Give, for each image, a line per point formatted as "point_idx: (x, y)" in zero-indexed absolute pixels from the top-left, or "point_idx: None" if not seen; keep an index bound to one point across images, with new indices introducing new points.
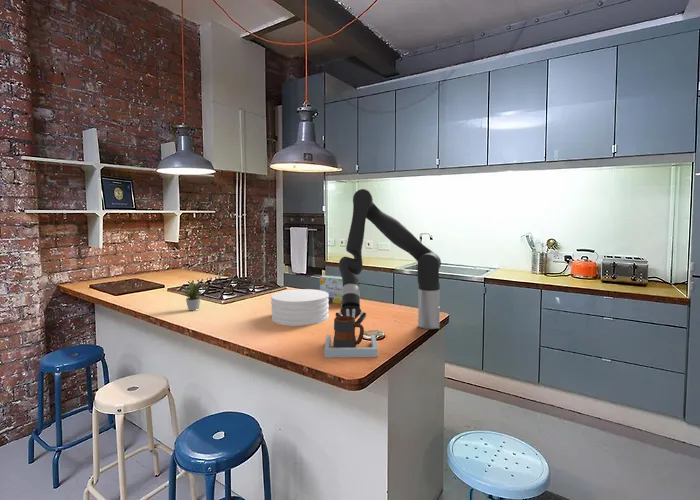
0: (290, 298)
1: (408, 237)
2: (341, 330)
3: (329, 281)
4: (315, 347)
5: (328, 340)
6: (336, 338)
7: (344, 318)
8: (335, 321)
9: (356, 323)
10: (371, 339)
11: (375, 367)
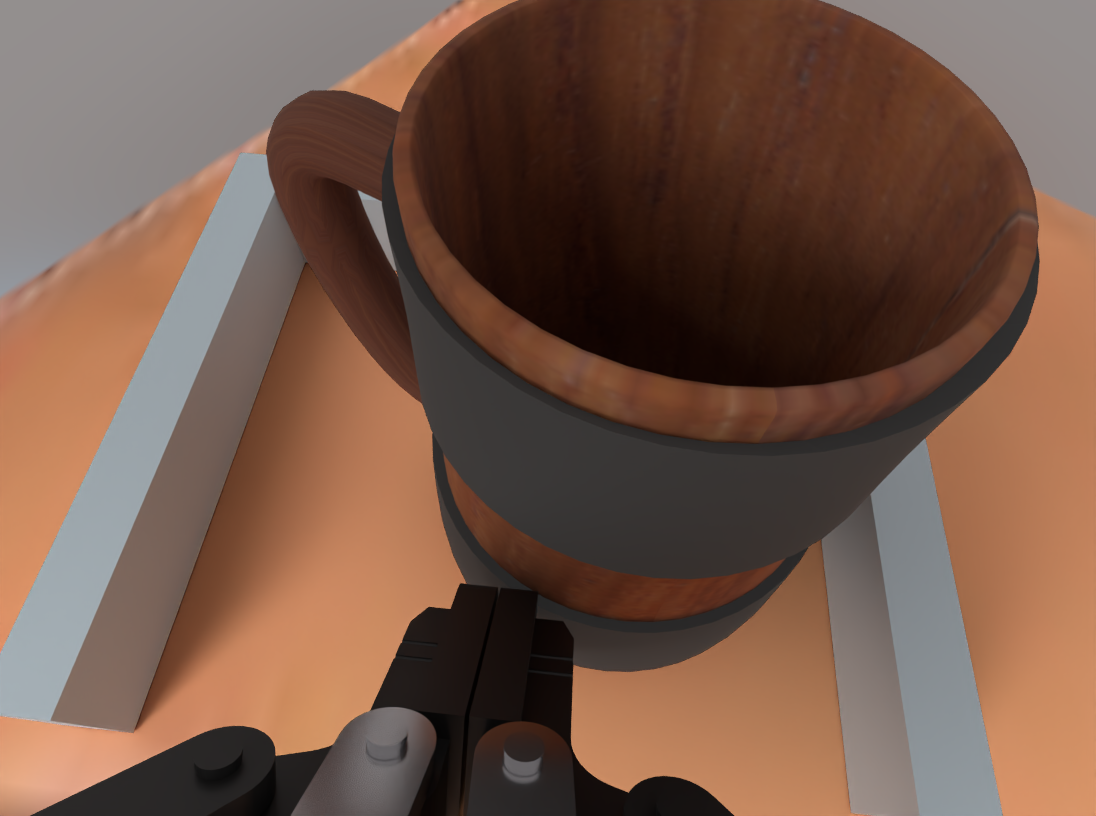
0: None
1: None
2: (721, 167)
3: None
4: (1049, 594)
5: (898, 497)
6: (771, 341)
7: (702, 437)
8: (939, 107)
9: (269, 755)
10: (125, 631)
11: (374, 69)
